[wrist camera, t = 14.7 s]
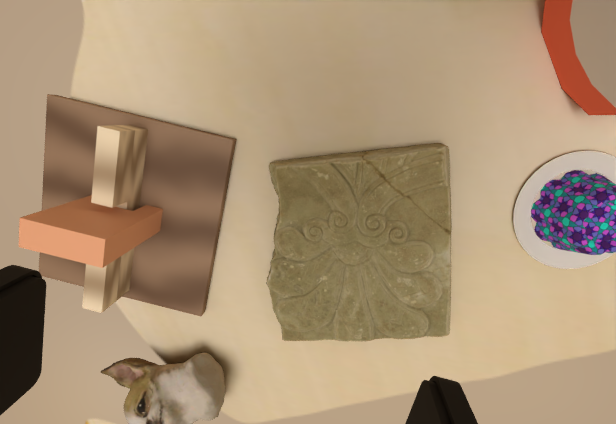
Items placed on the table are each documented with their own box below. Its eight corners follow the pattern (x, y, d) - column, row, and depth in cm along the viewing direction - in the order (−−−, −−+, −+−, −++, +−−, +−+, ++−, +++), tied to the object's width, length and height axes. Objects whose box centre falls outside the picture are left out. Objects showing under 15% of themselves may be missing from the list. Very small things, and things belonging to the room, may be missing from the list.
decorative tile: (443, 141, 37) (454, 144, 33) (443, 324, 41) (453, 343, 38) (257, 157, 38) (249, 161, 35) (278, 330, 43) (273, 348, 40)
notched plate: (98, 192, 39) (19, 217, 29) (163, 209, 39) (105, 239, 29) (96, 215, 39) (18, 246, 30) (159, 231, 39) (102, 268, 30)
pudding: (595, 282, 39) (634, 307, 34) (488, 242, 39) (511, 261, 33) (662, 175, 36) (716, 185, 31) (547, 131, 35) (582, 133, 30)
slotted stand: (56, 95, 38) (3, 90, 32) (236, 139, 38) (217, 143, 32) (46, 270, 43) (-1, 295, 37) (205, 310, 43) (183, 342, 37)
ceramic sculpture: (230, 462, 37) (107, 484, 40) (254, 398, 45) (150, 420, 48) (186, 373, 35) (60, 403, 38) (220, 323, 43) (114, 351, 46)
